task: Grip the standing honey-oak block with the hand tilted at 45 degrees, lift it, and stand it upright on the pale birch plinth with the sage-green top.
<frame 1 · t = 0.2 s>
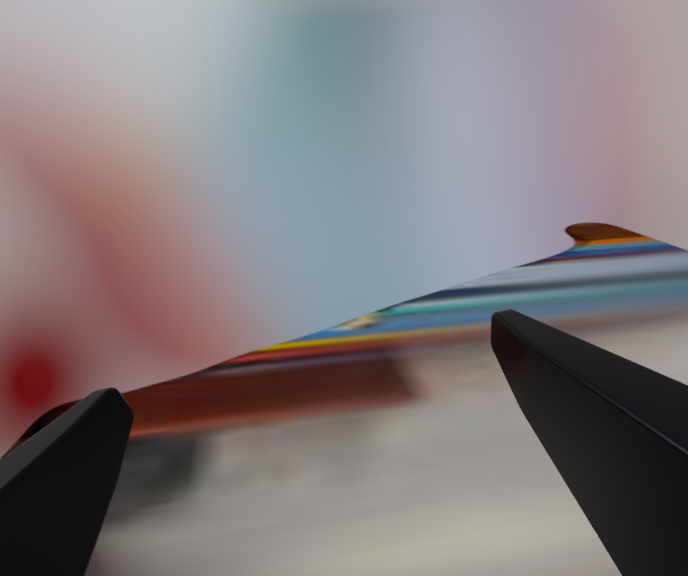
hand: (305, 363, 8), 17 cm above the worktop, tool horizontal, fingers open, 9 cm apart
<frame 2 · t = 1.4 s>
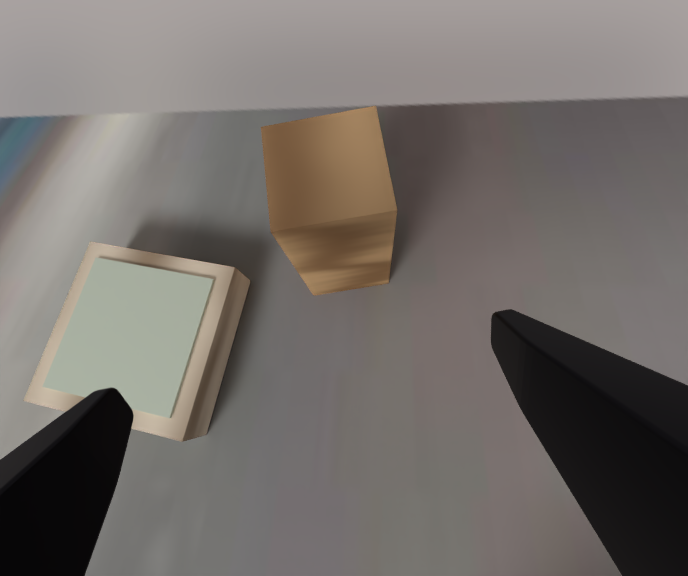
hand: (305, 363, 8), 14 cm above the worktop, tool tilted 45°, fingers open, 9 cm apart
plinth: (159, 338, 23), on the worktop
oak block: (345, 254, 24), on the worktop
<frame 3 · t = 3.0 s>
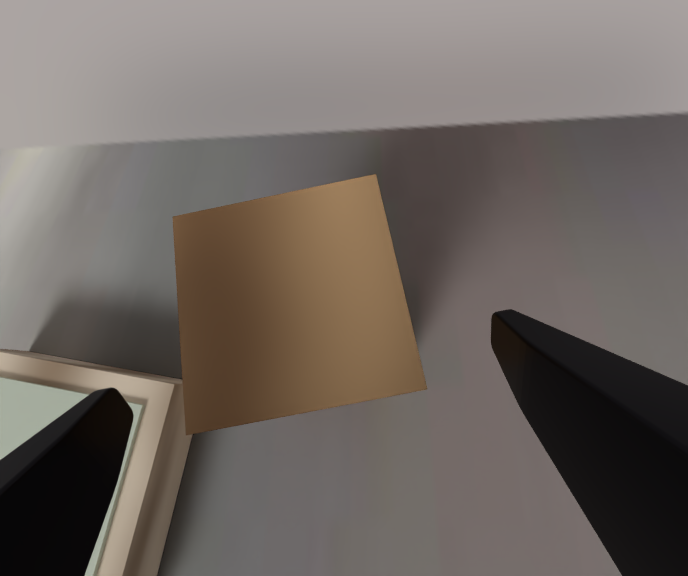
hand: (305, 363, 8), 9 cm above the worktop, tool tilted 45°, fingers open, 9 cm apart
plinth: (79, 473, 17), on the worktop
oak block: (335, 342, 17), on the worktop
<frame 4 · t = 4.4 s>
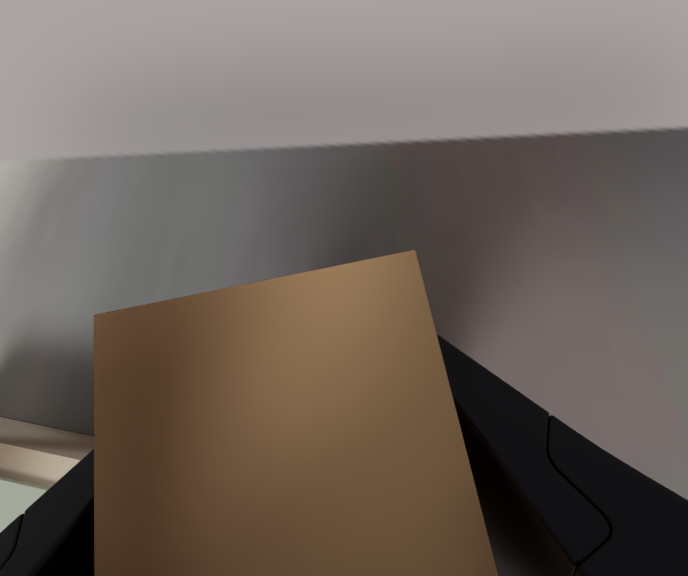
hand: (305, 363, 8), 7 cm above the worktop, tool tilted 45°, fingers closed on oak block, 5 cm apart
plinth: (29, 567, 14), on the worktop
oak block: (340, 404, 14), on the worktop, touching gripper
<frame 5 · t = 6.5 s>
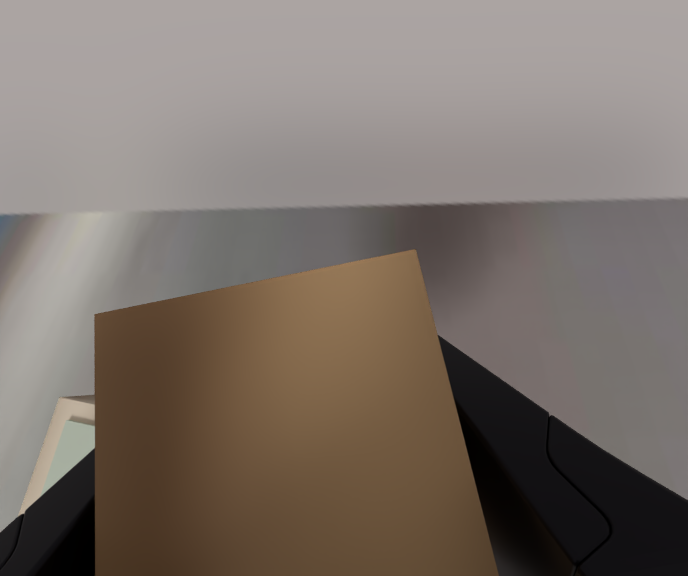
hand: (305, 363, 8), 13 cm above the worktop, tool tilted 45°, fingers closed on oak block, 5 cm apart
plinth: (146, 499, 20), on the worktop
oak block: (340, 404, 14), point 7 cm above the worktop, touching gripper
when the fingers open (11 cm above the worktop, at t = 8.6 s): oak block drops 1 cm, resting on plinth.
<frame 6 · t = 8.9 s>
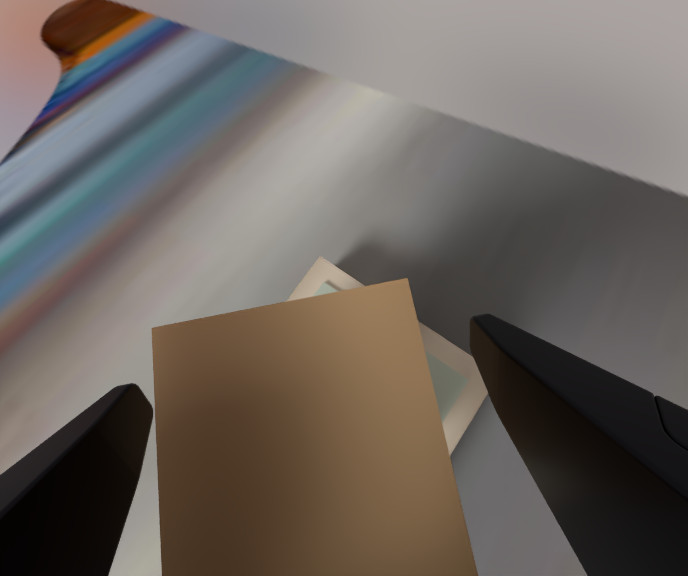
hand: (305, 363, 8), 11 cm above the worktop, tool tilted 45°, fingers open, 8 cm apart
plinth: (347, 397, 19), on the worktop
oak block: (343, 401, 16), point 3 cm above the worktop, touching plinth
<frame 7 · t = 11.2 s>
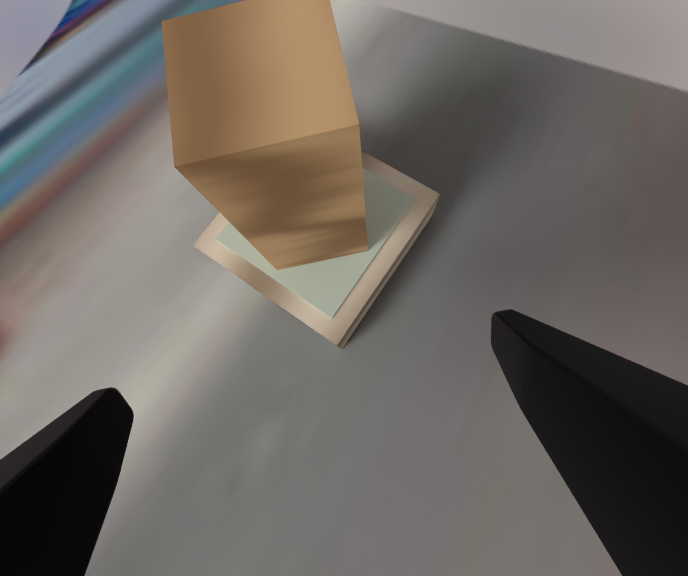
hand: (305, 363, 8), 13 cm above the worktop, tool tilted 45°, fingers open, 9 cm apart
plinth: (322, 238, 22), on the worktop
oak block: (314, 218, 20), point 3 cm above the worktop, touching plinth
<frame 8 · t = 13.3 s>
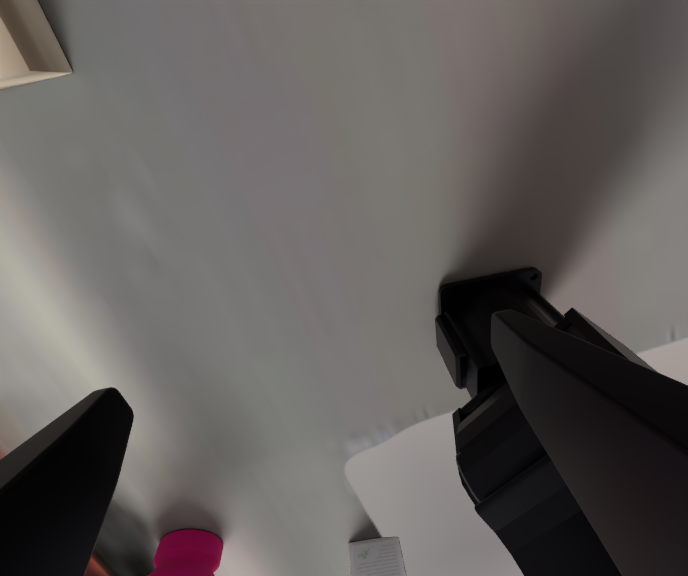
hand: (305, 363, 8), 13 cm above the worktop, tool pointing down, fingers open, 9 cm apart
syrup box: (375, 548, 40), on the worktop
pepper mill: (192, 542, 36), on the worktop
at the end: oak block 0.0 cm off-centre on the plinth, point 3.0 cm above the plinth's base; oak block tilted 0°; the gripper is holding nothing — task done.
